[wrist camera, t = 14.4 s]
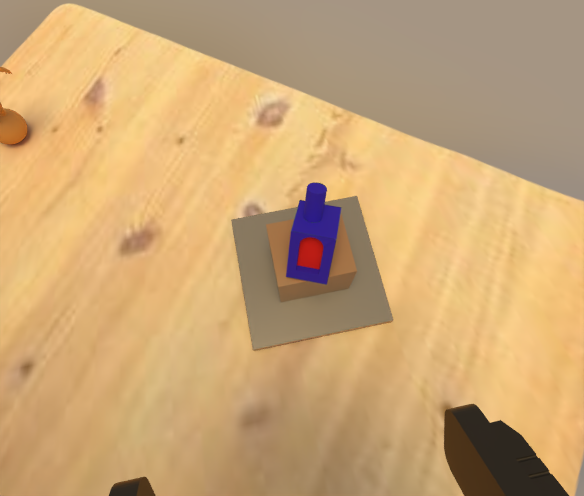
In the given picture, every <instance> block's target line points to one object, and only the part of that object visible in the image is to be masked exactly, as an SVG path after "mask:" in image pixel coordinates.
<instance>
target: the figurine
mask: <svg viewBox="0 0 584 496" xmlns="http://www.w3.org/2000/svg"><path fill="white" fill-rule="evenodd" d="M0 72H5V73H6V74H7V72H8V73H9V74H10V73H11V72H10V71H9V70H8V69H6V68H4V67H0ZM11 74H12V73H11ZM26 134H27V124H26V122H25V120H24V119H23V117H22V116H21V115H19V114H18V113H17V112H15V111H13V110H10V109H3V107H2V105H1V103H0V142H1V143H4V144H15V143H18V142H20V141H22V140H23V139H24V138H25V136H26Z"/></svg>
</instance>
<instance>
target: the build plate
mask: <svg viewBox="0 0 584 496" xmlns="http://www.w3.org/2000/svg"><path fill="white" fill-rule="evenodd" d="M325 205H331V206H336V207H342V208H341V214H340V220H339V227H338V233H337V240H336V244H335V249H334V254H333V258H332V263H331V268H330V273H329V277H328V282H327V285H325V284H320V283H315V282H310V281H304V280H299V279H294V278H289V277H286V272H287V262H288V253H289V244H290V234H291V229H292V225H293V222H294V218H295V215H296V212H297V208H298V207H296V208H291V209H285V210H280V211H275V212H270V213H264V214H259V215H254V216H248V217H243V218H238V219H233V220H232V226H233V232H234V238H235V244H236V250H237V256H238V262H239V268H240V274H241V280H242V286H243V292H244V298H245V304H246V310H247V316H248V322H249V328H250V334H251V340H252V346H253V350H254V351H256V350H261V349H265V348H270V347H275V346H280V345H284V344H289V343H294V342H299V341H303V340H308V339H313V338H318V337H322V336H327V335H332V334H337V333H341V332H346V331H351V330H356V329H360V328H365V327H370V326H375V325H379V324H384V323H389V322H392V321H393V317H392V314H391V310H390V307H389V304H388V300H387V297H386V293H385V290H384V287H383V283H382V280H381V276H380V273H379V269H378V266H377V263H376V259H375V256H374V252H373V249H372V246H371V242H370V239H369V235H368V232H367V229H366V225H365V222H364V218H363V215H362V212H361V208H360V205H359V201H358V198H357V196H354V197H349V198H343V199H338V200H333V201H328V202H325Z"/></svg>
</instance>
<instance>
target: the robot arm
mask: <svg viewBox="0 0 584 496" xmlns="http://www.w3.org/2000/svg"><path fill="white" fill-rule="evenodd" d="M444 450H445V455H446V459H447V462H448V465H449V467H450V470H451V472H452V474H453V476H454V477H455V479H456V481H457V483H458V485H459V487H460V488H461V490H462V492H463V494H464V496H569V495H568V494H567V492H566V491H565V490H564V489H563V487H562V486H561V485H560V484H559V482H558V481H557V480H556V478H555V477H554V476H553V475H552V474H550V473H549V470H548V468H547V467H546V466H545V465H544V463H543V462H542V461H541V459H540V458H538V457H537V456H536V453H535V452H534V451H533V449H532V448H531V447H530V446H529V444H528V443H527V442H526V441H525V439H524V438H523V437H522V435H520V434H519V433H518V432H516V431H515V430H513V429H512V428H511V427H509V426H508V425H506V424H505V423H504V422H502V421H501V420H500V421H496V422H492V423H489V421H488V420H487V418H486V417H485V416H484V414H483V413H482V412H481V410H480V409H479V408H478V407H477V406H476V405H475V404H469V405H465V406H460V407H456V408H451V409H447V410H446V411H445V425H444ZM109 496H155V494H154V491H153V489H152V487H151V485H150V483H149V481H148V479H147V478H146V477H141V478H136V479H132V480H128V481H123V482H119V483H115V484H114V485H113V487H112V488H111V491H110V494H109Z"/></svg>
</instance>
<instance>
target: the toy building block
mask: <svg viewBox="0 0 584 496" xmlns="http://www.w3.org/2000/svg"><path fill="white" fill-rule="evenodd" d="M326 192H327V188H326V186H325V185H323V184H321V183H310V184H309V185H308V186H307V192H306V200H305V201H303V200H300V201H299V205H298V208H297V212H296V215H295V218H294V222H293V225H292V229H291V234H290V244H289V253H288V262H287V272H286V277H289V278H294V279H299V280H304V281H310V282H315V283H320V284H325V285H327V282H328V277H329V273H330V268H331V263H332V258H333V254H334V249H335V244H336V240H337V233H338V227H339V220H340V214H341V208H342V207H336V206H331V205H325V198H326Z"/></svg>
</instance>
